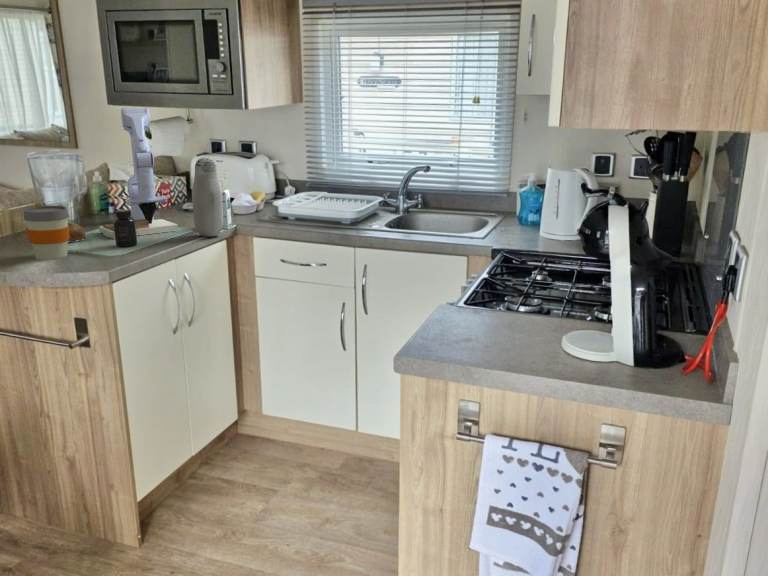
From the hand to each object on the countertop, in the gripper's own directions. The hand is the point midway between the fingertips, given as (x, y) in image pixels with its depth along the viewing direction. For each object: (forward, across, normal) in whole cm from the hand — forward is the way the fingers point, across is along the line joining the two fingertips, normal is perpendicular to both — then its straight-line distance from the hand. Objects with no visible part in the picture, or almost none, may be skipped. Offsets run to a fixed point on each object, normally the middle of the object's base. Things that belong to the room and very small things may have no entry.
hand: (149, 223), depth 246 cm
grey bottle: (+4, +14, -18) cm, 24 cm away
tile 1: (0, -11, +8) cm, 13 cm away
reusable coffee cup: (+4, -38, -16) cm, 42 cm away
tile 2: (+1, -3, 0) cm, 3 cm away
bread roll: (+4, -26, +5) cm, 27 cm away
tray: (+4, -10, +4) cm, 11 cm away
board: (+4, +2, +4) cm, 6 cm away
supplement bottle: (+4, -14, -15) cm, 22 cm away
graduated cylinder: (+4, +26, -8) cm, 27 cm away
